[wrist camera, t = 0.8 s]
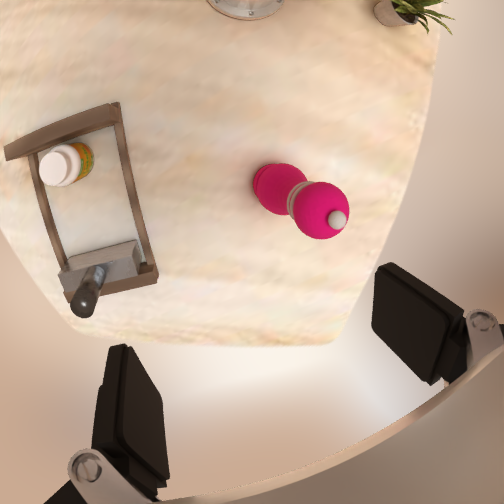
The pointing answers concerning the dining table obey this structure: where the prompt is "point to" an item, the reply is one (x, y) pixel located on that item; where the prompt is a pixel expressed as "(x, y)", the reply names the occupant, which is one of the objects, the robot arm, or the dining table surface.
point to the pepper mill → (302, 200)
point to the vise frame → (105, 118)
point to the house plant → (406, 12)
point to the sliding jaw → (98, 273)
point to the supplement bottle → (66, 164)
